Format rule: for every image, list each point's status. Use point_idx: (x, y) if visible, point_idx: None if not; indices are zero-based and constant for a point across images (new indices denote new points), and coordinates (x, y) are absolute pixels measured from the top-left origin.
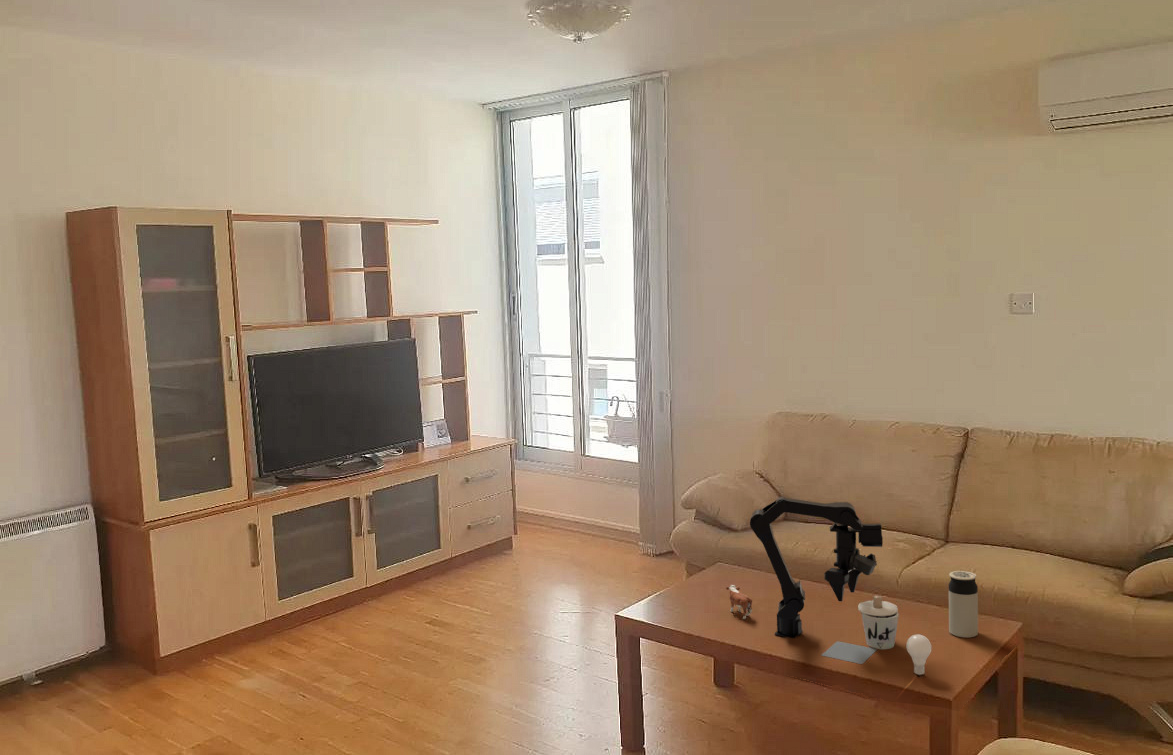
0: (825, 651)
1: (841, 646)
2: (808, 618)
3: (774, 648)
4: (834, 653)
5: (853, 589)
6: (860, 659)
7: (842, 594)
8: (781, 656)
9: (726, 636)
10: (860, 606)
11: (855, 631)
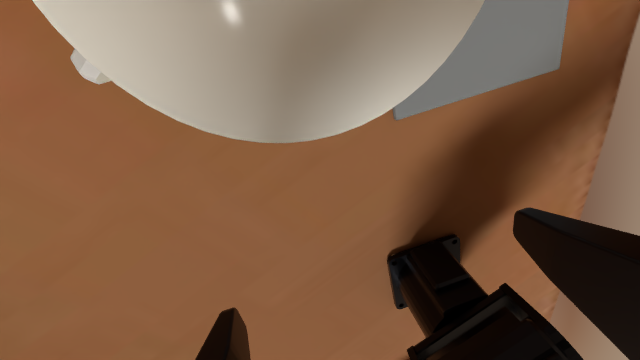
0: (517, 81)
1: (440, 66)
2: (266, 327)
3: None
4: (521, 38)
5: (234, 335)
6: None
7: (632, 234)
8: (594, 163)
9: None
10: (401, 76)
11: (229, 148)
